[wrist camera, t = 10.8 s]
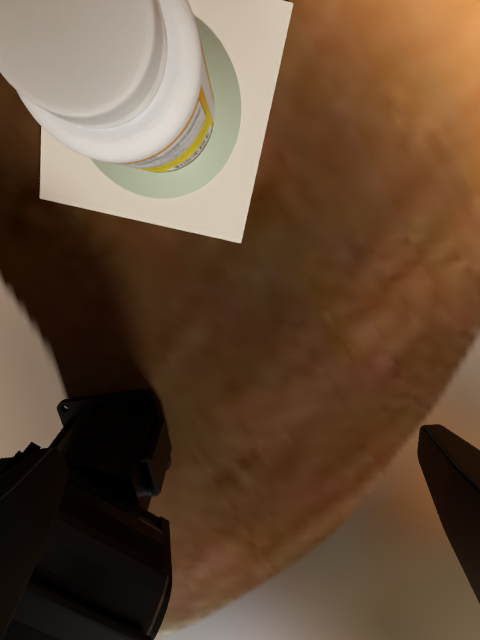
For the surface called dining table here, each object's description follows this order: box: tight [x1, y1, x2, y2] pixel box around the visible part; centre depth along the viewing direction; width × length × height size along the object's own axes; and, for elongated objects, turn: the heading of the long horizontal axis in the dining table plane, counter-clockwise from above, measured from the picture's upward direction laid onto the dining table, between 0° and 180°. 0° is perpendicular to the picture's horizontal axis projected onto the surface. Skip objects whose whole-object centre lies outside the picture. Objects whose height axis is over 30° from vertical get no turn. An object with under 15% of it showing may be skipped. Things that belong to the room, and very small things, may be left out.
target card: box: [40, 0, 293, 243], centre depth 17 cm, size 11×11×1 cm
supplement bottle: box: [0, 0, 215, 173], centre depth 12 cm, size 6×6×10 cm
